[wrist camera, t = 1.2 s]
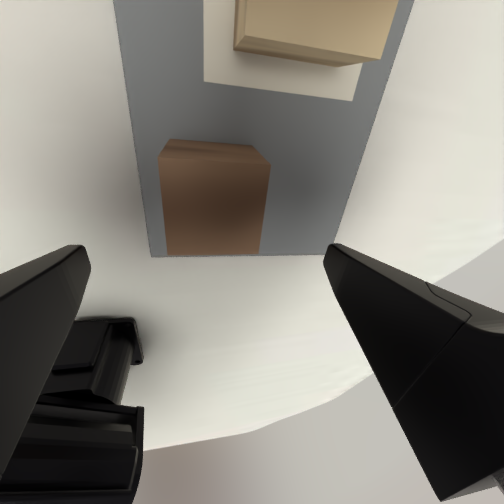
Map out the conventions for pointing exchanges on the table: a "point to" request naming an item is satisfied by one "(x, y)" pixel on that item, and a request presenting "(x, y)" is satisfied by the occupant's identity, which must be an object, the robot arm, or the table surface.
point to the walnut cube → (212, 197)
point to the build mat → (249, 114)
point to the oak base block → (314, 29)
